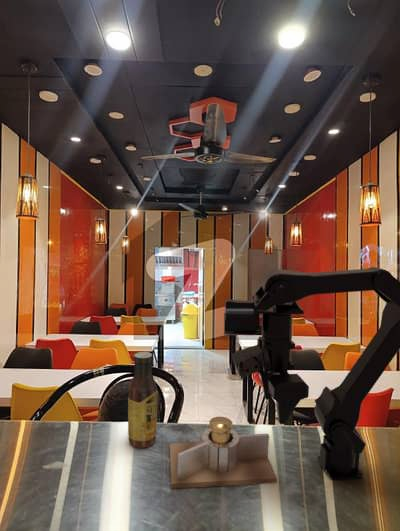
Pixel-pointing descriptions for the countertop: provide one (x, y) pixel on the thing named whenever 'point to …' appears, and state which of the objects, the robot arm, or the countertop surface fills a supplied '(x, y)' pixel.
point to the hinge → (222, 453)
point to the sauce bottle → (142, 403)
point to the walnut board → (241, 475)
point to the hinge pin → (220, 429)
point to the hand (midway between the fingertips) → (274, 410)
